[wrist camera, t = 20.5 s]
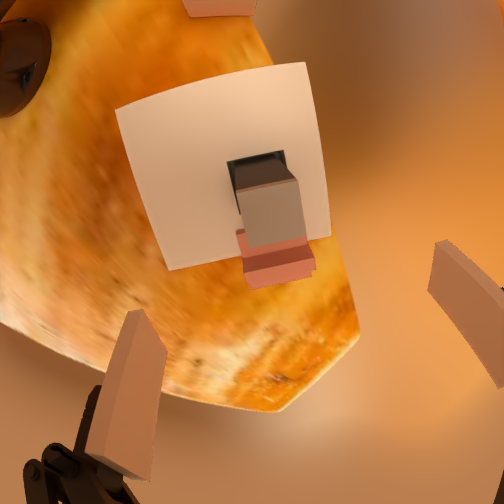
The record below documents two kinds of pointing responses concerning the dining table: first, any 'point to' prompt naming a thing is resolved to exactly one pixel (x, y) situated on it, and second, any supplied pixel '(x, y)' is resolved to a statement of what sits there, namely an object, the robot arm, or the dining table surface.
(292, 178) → the plug
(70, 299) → the dining table surface
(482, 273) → the robot arm
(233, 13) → the milk carton
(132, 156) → the socket plate
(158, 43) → the dining table surface
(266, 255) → the salmon red stepped block
